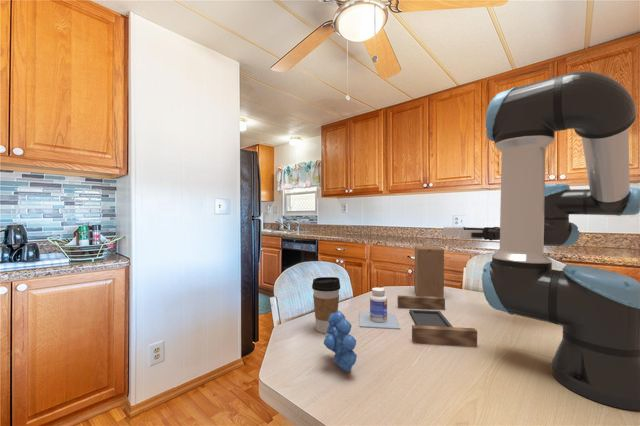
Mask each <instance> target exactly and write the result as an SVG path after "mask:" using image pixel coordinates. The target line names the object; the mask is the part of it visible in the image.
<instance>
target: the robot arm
mask: <svg viewBox="0 0 640 426" xmlns="http://www.w3.org/2000/svg"><path fill="white" fill-rule="evenodd" d="M636 116H637V115H636V103H635V102H634V99H633V97H632V95H631V93H630V92H629V91H628V89H626V88H625V87H624V86H623V85H622V84H621V83H620V82H618V81H617V80H615V79H613V78H612V77H610V76H608V75H605V74H603V73H600V72H599V73H598V72H595V71H587V70H584V71H583V70H580V71H573V72H567V73H565V74H563V75H562V74H561V75H559V76H553V77H551V78H547V79H543V80H540V81H539V80H538V81H535V82H532V83H528V84H524V85H520V86H514V87H512V88H510V89H508V90H503V91H501V92H498V93H496V94H495V95H494V96H493V98H492V99H491V100H490V102H489V103H488V106H487V110H486V114H485V122H484V123H485V128H486V131H485V133H486V136H487V138H488V140H489V141H491V142H493V143H494V148H496V149H497V150H498V152H499V151H500V153H501V163H500V164H501V165H500V166H501V168H500V173H501V174H500V209H499V210H500V211H499V213H500V216H499V226H493V227H489V226H488V227H466V226H461V227H458V226H457V227H456V226H455V227H454V226H453V227H450V226H449V227H448V226H447V227H445V226H444V227H443V236H458V239H459V240H480V241H481V240H485V241H487V240H488V241H491V242H492V241H499V249H498V251H496V252H495V253H494V254H492V257H491V261H487V262H486V263H485V264H484V265H483V267H482V273H481V285H482V291H483V295H484V298H485V300H486V302H487V304H488V305H489V306H490V307H491V308H492V309H494V310H497V311H501V312H504V313H506V314H508V315H512V316H514V315H515V316H519V317H524V318H528V319H531V320H536V321H540V322H544V323H550V324H553V325H557V326H561V327H562V339H561V341H560V343H559V345H558V347H557V349H556V351H555V354H554V355H553V357H552V360H551V374H552V376H553V378H554V379H555V380H556V381H558V382H559V383H560V384H561V385H563V386H564V387H565V388H567V389H568V390H571V391H572V392H574V393H576V394H578V395H581V396H582V397H585V398H587V399H590V400H592V401H594V402H597V403H600V404H603V405H605V406H610V407H614V408H618V409H621V410H623V409H624V410H628V411H640V282H639V281H638V280H636V279H634V278H633V277H630V276H628V275H625V274H623V273H622V274H621V273H619V272H616V271H611V270H608V269H607V270H606V269H603V268H598V267H593V266H587V265H579V264H566V265H563V266H564V267H562V270H557V269H553V267H552V266H553V261H552V259H550V258H549V256H548V255H546V254H545V251H544V247H568V246H569V247H570V246H573V245H576V243H578V241H579V239H580V233H581V232H580V230H579V227H578V225H577V224H575V223H574V222H570V215H575V216H576V215H579V216H580V215H581V216H582V215H583V216H584V215H590V216H593V215H594V216H616V217H617V216H618V217H620V216H635V215H637V214H640V188H638V187H630V185H631V182H630V179H631V178H630V141H629V139H630V137H629V135H630V134H629V133H630V132H629V130H630V128H631V127H632V126H633V125H634V123H635V122H636ZM567 130H574V133H575V134H576V135H577V136H579V137H580V138H581V143H582V148H583V153H584V161H585V167H586V175H587V180H588V186H589V188H585V189H582V188H580V189H579V188H578V189H576V188H575V189H571V188H570V185H569V184H568V183H548V184H547V183H546V155H547V153H546V149H547V148H548V147H549V146H550V145H551V144H552V143H554V141H555V133H556V132H560V131H567Z"/></svg>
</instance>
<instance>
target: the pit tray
mask: <svg viewBox="0 0 640 426" xmlns="http://www.w3.org/2000/svg"><path fill="white" fill-rule="evenodd" d="M408 313H409V316H410V317H411V319H412V321H413V323H414V325H420V326H439V327H454V326H453V325H452V324H451V322H449V320H448V319H447V318H446V316H444V314H443V313H442V312H441V310H429V309H409V311H408Z"/></svg>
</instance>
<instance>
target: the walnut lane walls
mask: <svg viewBox="0 0 640 426" xmlns="http://www.w3.org/2000/svg"><path fill="white" fill-rule="evenodd" d="M397 308H398V309H407V310H408V309H409V310H430V311H445V310H446V298H445V297H427V296H416V295H397ZM411 342H412V343H413V344H422V345H423V344H425V345H438V346H439V345H440V346H441V345H442V346H453V347H454V346H456V347H457V346H459V347H472V348H473V347H474V348H476V347H478V330H477V329H476V328H473V327H459V326H458V327H457V326H456V327H454V326H453V327H439V326H420V325H415V324H412V325H411Z"/></svg>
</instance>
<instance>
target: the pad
mask: <svg viewBox="0 0 640 426" xmlns="http://www.w3.org/2000/svg"><path fill="white" fill-rule="evenodd" d="M358 318H359V319H358V321H359V325H358V326H359V328H367V329H368V328H371V329H390V330H392V329H393V330H401V326H400V324H399V320H398V318H397V315H396V313H391V312H390V313H389V312H387V320H386V321H385V322H375V321H372V320H371V319H370V311H358Z"/></svg>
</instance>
